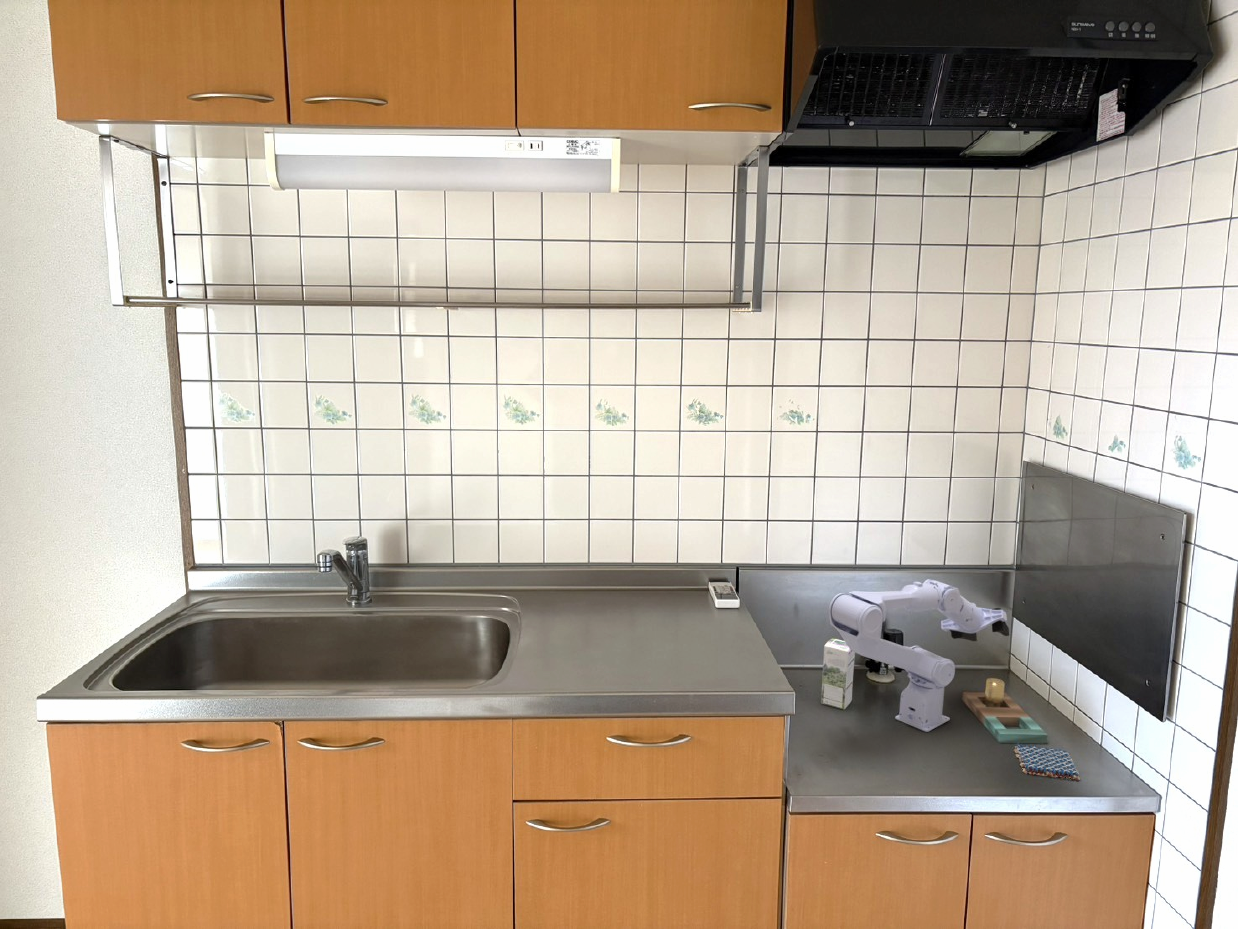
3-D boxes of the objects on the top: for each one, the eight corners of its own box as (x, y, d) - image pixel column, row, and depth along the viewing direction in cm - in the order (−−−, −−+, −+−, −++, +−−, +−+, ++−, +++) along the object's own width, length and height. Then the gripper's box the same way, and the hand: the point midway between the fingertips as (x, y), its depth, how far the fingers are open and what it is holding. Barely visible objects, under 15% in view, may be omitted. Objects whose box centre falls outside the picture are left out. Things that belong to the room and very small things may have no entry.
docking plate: (1046, 743, 179) (1047, 734, 179) (999, 742, 179) (1000, 733, 179) (1005, 700, 199) (1005, 692, 198) (962, 700, 199) (963, 692, 199)
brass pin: (996, 715, 191) (999, 686, 190) (980, 709, 194) (983, 681, 193) (1004, 711, 194) (1007, 682, 192) (988, 705, 197) (991, 676, 195)
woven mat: (1066, 757, 175) (1068, 748, 174) (1081, 784, 165) (1082, 775, 164) (1012, 750, 177) (1013, 741, 177) (1022, 776, 167) (1023, 767, 167)
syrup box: (852, 701, 197) (856, 642, 195) (844, 711, 192) (848, 650, 190) (828, 695, 200) (832, 636, 198) (819, 704, 195) (823, 644, 193)
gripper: (991, 589, 187) (1020, 612, 194) (930, 601, 197) (960, 623, 204) (993, 618, 183) (1023, 642, 190) (931, 630, 193) (962, 651, 200)
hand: (991, 634), depth 197 cm, fingers open, 7 cm apart
